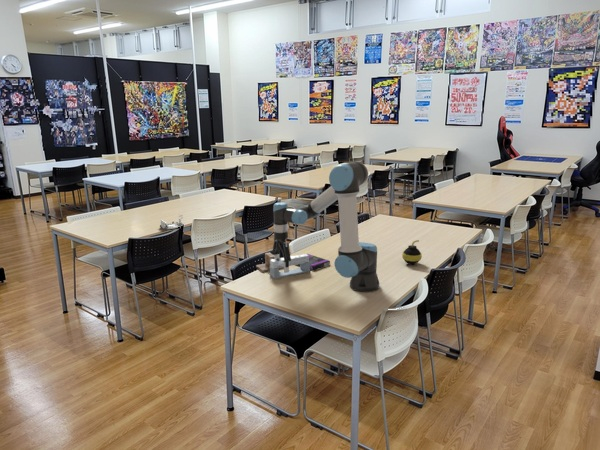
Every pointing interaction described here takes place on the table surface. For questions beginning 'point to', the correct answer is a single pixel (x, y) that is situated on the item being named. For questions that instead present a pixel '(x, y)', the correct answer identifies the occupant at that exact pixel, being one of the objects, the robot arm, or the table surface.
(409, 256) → the bomb
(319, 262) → the box
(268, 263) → the stand
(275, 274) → the rack
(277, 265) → the bar
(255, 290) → the table surface
